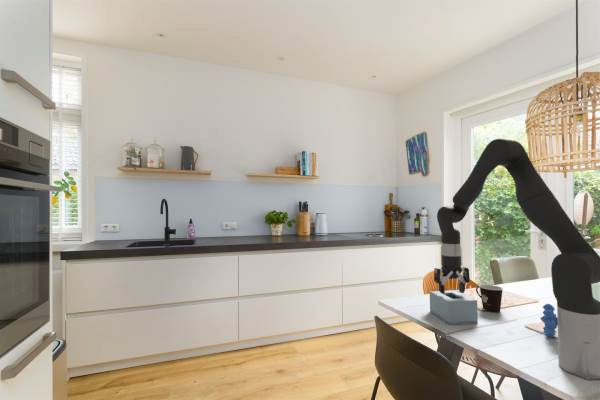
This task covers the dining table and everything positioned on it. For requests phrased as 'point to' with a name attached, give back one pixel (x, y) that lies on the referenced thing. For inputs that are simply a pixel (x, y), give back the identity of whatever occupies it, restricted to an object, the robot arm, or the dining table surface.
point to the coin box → (453, 307)
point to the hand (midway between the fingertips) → (452, 292)
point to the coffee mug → (490, 297)
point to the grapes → (549, 320)
